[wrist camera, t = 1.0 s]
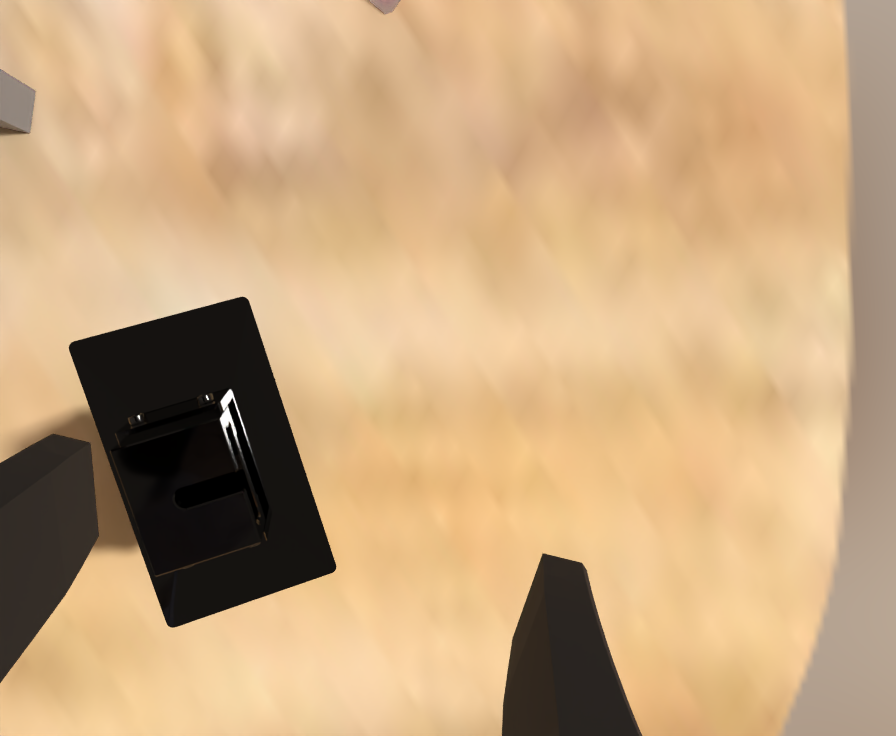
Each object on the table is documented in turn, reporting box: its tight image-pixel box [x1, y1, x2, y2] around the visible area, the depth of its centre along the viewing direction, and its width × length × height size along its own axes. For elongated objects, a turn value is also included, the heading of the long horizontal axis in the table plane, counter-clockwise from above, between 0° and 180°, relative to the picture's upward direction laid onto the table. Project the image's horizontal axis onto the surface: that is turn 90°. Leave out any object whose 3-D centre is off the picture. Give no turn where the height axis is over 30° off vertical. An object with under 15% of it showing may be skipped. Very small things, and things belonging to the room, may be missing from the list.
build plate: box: [69, 297, 336, 627], centre depth 23 cm, size 12×7×5 cm, turn 16°
